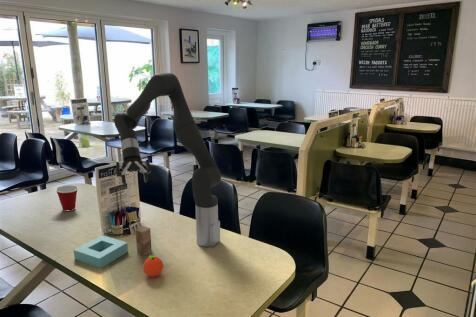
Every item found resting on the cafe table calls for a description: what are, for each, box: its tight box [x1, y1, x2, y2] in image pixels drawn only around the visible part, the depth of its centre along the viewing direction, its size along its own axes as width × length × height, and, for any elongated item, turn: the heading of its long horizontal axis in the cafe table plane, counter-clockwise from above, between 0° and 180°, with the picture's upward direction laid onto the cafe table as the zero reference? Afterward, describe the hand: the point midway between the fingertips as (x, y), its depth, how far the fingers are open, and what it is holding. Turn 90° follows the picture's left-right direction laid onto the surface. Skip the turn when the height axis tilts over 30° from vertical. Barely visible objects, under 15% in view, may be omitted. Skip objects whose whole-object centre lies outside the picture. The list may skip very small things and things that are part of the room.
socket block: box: [73, 235, 129, 269], centre depth 139 cm, size 14×14×4 cm
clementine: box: [142, 254, 164, 278], centre depth 126 cm, size 8×7×7 cm
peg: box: [135, 225, 153, 256], centre depth 141 cm, size 4×4×10 cm
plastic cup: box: [55, 184, 79, 211], centre depth 184 cm, size 11×11×12 cm
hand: (135, 183), depth 149 cm, fingers open, 8 cm apart
